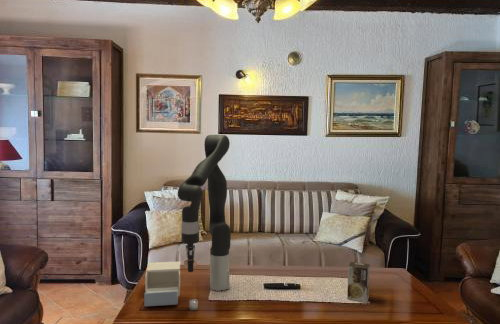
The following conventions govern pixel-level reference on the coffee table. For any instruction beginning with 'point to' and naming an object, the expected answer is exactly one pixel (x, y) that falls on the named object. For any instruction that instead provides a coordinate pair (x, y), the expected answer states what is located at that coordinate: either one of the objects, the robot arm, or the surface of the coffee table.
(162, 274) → the beige shelf
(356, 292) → the coffee box
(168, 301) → the tray
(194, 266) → the tan dome knob
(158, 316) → the coffee table surface
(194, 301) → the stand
